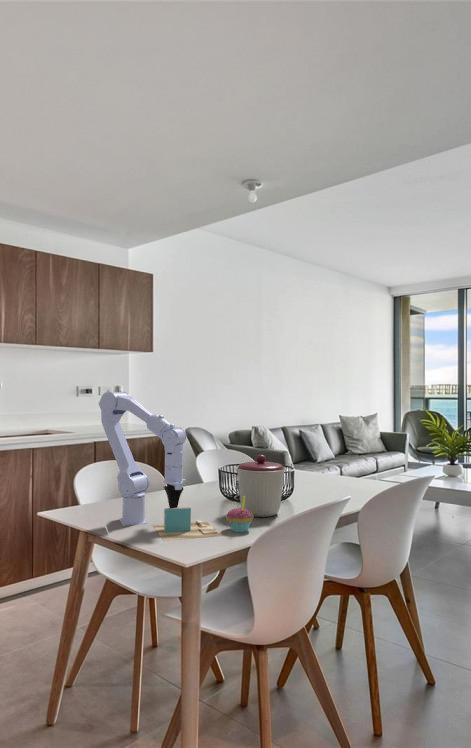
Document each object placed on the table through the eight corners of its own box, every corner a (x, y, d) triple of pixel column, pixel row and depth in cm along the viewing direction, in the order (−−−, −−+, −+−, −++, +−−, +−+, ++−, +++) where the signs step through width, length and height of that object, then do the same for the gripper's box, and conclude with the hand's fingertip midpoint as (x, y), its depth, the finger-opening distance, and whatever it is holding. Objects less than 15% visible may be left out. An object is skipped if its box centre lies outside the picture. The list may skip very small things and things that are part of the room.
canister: (270, 522, 177) (270, 459, 178) (225, 515, 187) (225, 455, 188) (294, 512, 192) (294, 454, 193) (251, 506, 202) (252, 450, 203)
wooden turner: (191, 523, 174) (191, 520, 174) (204, 522, 175) (204, 519, 175) (203, 534, 160) (203, 531, 160) (217, 533, 161) (217, 530, 161)
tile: (163, 531, 163) (164, 508, 163) (189, 529, 166) (189, 506, 166) (164, 532, 161) (165, 509, 161) (190, 530, 164) (190, 508, 164)
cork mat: (152, 527, 170) (152, 525, 170) (206, 523, 176) (206, 521, 176) (163, 542, 153) (163, 540, 153) (223, 537, 159) (223, 535, 159)
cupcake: (258, 531, 166) (259, 492, 167) (241, 536, 160) (241, 496, 160) (238, 526, 172) (238, 489, 172) (220, 531, 166) (220, 492, 166)
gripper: (191, 468, 164) (191, 512, 164) (180, 462, 178) (180, 503, 177) (169, 469, 162) (168, 514, 161) (159, 463, 176) (159, 504, 175)
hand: (173, 508), depth 169 cm, fingers closed
